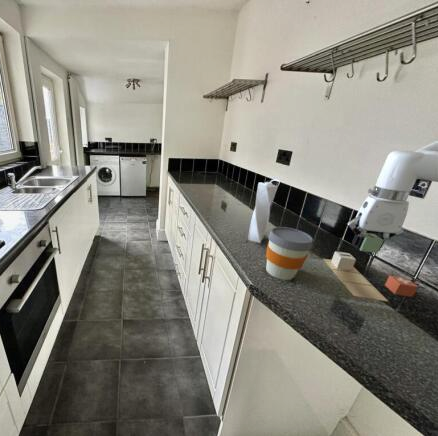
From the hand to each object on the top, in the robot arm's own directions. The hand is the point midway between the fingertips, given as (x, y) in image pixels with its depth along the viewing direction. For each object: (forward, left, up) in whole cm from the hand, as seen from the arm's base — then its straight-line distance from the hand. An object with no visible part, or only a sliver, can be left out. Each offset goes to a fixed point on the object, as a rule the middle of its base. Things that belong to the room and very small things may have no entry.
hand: (365, 247), depth 75 cm
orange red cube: (-11, +4, -12) cm, 17 cm away
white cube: (0, -7, -11) cm, 13 cm away
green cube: (0, 0, 0) cm, 0 cm away
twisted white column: (+27, -22, -12) cm, 37 cm away
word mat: (0, 0, -12) cm, 12 cm away
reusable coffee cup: (+23, +3, -12) cm, 27 cm away
